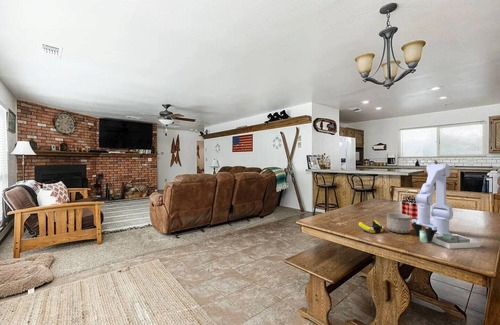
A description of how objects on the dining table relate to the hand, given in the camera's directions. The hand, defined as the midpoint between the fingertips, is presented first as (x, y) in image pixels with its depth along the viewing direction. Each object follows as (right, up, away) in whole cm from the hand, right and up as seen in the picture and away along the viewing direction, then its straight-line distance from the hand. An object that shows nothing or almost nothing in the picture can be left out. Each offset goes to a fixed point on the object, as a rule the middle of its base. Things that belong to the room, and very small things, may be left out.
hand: (423, 238), depth 127 cm
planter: (-3, -2, +18) cm, 18 cm away
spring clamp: (-19, -2, +20) cm, 27 cm away
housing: (+14, -2, -3) cm, 14 cm away
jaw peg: (0, -2, 0) cm, 2 cm away
